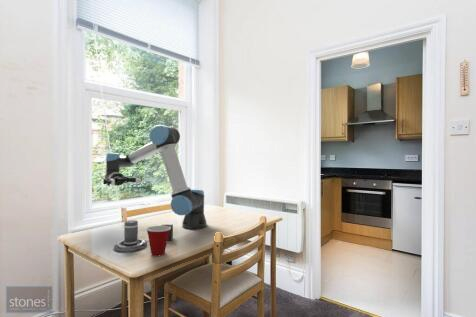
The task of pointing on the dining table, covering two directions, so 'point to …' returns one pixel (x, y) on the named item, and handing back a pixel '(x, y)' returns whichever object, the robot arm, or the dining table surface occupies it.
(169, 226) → the box
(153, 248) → the plastic cup
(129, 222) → the lens
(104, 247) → the dining table surface
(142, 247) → the mount plate
